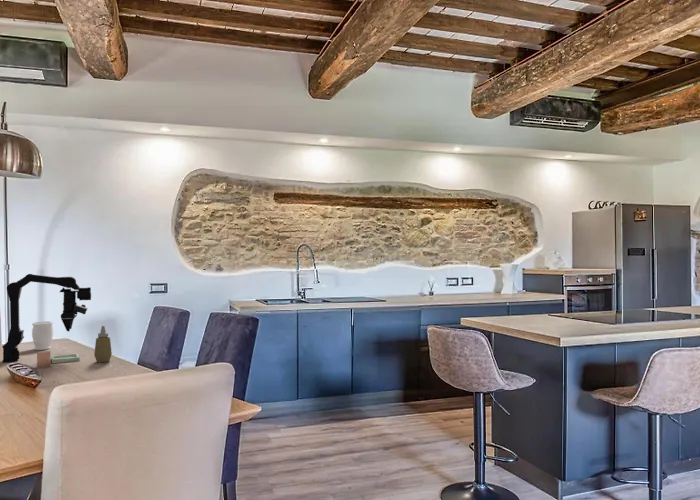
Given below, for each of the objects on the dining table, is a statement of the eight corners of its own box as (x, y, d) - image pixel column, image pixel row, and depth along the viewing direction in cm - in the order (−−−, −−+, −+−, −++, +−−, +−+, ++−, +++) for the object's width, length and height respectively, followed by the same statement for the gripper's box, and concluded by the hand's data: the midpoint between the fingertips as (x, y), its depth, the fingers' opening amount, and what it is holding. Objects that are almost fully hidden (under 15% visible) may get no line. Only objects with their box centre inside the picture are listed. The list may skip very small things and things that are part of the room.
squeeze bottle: (90, 362, 270) (90, 326, 270) (104, 359, 277) (104, 324, 277) (101, 363, 266) (101, 327, 266) (115, 360, 273) (115, 325, 274)
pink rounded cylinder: (37, 368, 256) (37, 353, 256) (36, 366, 261) (36, 351, 261) (50, 367, 259) (50, 352, 259) (50, 364, 264) (50, 350, 264)
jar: (46, 350, 301) (46, 323, 301) (27, 350, 301) (28, 323, 301) (56, 347, 312) (56, 321, 312) (39, 347, 312) (39, 321, 312)
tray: (52, 363, 267) (52, 359, 267) (51, 359, 277) (51, 355, 277) (79, 360, 273) (79, 357, 273) (77, 356, 284) (77, 353, 284)
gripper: (85, 301, 279) (84, 331, 279) (87, 298, 296) (87, 327, 296) (60, 302, 274) (60, 332, 274) (65, 299, 292) (64, 328, 292)
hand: (69, 330), depth 284 cm, fingers open, 9 cm apart
